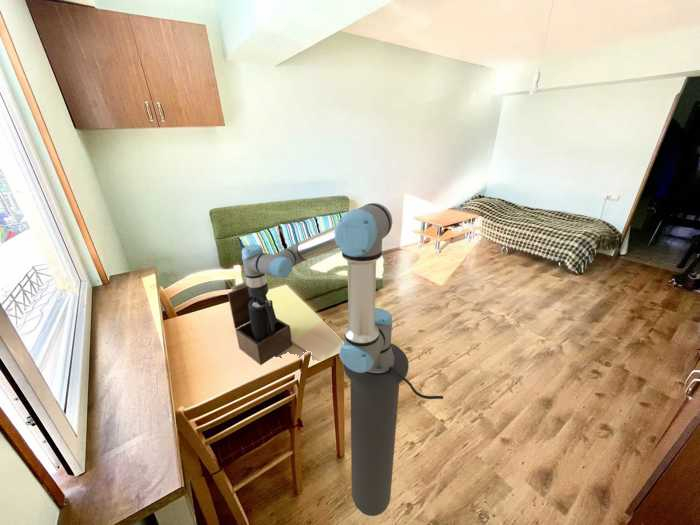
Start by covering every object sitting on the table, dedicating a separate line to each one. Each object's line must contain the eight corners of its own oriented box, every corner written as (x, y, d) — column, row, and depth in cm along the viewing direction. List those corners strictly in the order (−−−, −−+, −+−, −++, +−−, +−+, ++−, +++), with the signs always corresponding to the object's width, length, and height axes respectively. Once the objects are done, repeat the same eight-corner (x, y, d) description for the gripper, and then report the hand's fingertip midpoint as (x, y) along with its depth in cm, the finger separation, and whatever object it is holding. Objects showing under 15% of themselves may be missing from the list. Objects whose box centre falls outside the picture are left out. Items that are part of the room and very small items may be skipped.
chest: (292, 344, 122) (290, 325, 118) (260, 365, 111) (257, 345, 107) (270, 330, 131) (267, 312, 127) (239, 348, 120) (235, 329, 116)
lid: (263, 279, 120) (253, 274, 125) (228, 293, 109) (218, 287, 114) (268, 312, 127) (258, 306, 132) (235, 328, 116) (226, 321, 120)
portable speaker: (260, 330, 124) (253, 294, 115) (279, 334, 122) (274, 297, 113) (250, 344, 116) (241, 306, 107) (270, 348, 114) (263, 309, 105)
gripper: (282, 288, 104) (288, 337, 113) (250, 273, 117) (257, 317, 126) (265, 296, 99) (273, 346, 108) (233, 279, 112) (242, 325, 121)
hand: (264, 331), depth 117 cm, fingers closed on portable speaker, 9 cm apart
